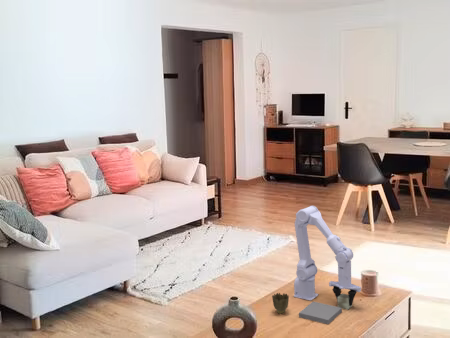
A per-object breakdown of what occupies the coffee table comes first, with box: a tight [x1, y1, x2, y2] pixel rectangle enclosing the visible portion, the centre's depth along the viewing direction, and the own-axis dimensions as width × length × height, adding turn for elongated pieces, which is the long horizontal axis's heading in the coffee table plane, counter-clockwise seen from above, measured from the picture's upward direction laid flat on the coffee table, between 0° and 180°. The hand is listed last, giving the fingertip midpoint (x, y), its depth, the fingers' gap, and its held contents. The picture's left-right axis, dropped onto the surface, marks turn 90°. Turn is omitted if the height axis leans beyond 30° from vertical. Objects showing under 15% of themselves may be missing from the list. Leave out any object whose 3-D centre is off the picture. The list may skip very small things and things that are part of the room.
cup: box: [271, 292, 290, 315], centre depth 233 cm, size 8×7×8 cm
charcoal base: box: [298, 301, 343, 325], centre depth 230 cm, size 14×14×2 cm
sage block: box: [337, 292, 353, 311], centre depth 237 cm, size 5×5×5 cm
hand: (345, 303), depth 237 cm, fingers closed on sage block, 5 cm apart
